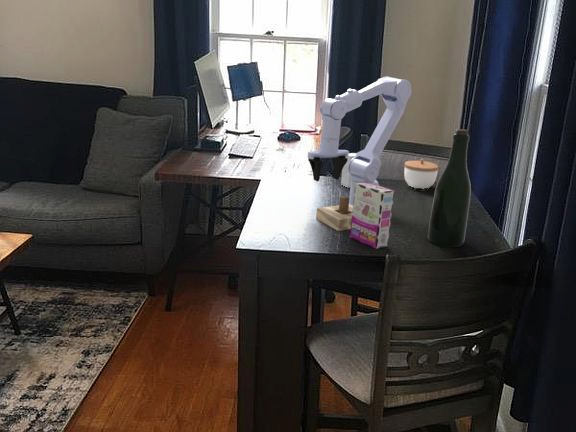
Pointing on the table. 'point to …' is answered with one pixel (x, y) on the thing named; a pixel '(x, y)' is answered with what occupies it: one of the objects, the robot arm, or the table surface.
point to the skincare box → (345, 174)
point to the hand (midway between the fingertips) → (326, 179)
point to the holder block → (335, 217)
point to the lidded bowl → (420, 173)
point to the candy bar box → (371, 214)
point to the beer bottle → (452, 197)
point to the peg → (344, 205)
